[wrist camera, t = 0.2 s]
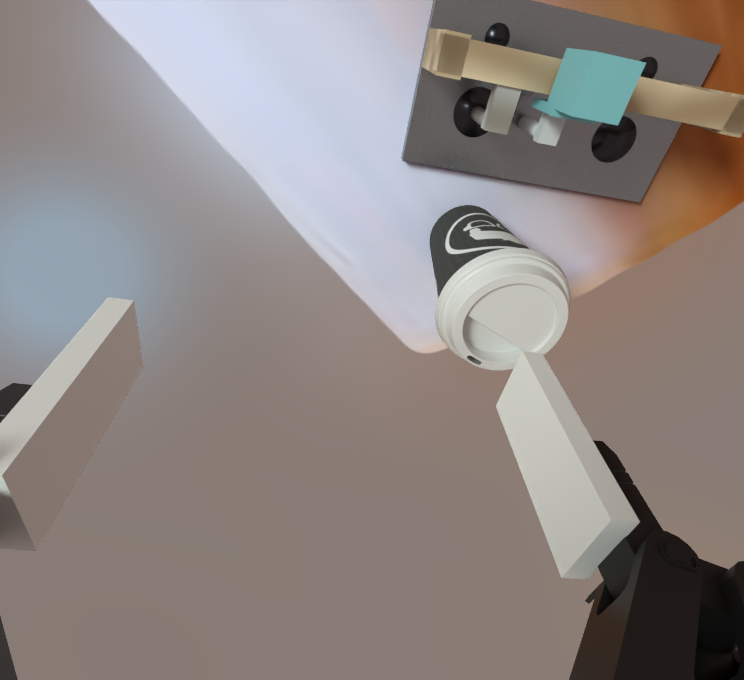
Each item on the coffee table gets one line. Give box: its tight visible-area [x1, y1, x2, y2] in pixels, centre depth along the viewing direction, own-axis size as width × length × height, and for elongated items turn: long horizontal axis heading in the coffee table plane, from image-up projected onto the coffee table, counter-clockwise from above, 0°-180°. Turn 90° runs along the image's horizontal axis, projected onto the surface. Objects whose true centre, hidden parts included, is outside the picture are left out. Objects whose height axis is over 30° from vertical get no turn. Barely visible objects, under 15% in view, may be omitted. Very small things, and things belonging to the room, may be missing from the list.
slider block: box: [518, 48, 646, 146], centre depth 30 cm, size 6×3×10 cm, turn 170°
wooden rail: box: [422, 28, 744, 138], centre depth 32 cm, size 5×22×6 cm, turn 80°
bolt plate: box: [401, 0, 722, 202], centre depth 36 cm, size 12×22×1 cm, turn 80°
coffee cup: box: [430, 205, 570, 370], centre depth 36 cm, size 10×10×15 cm
